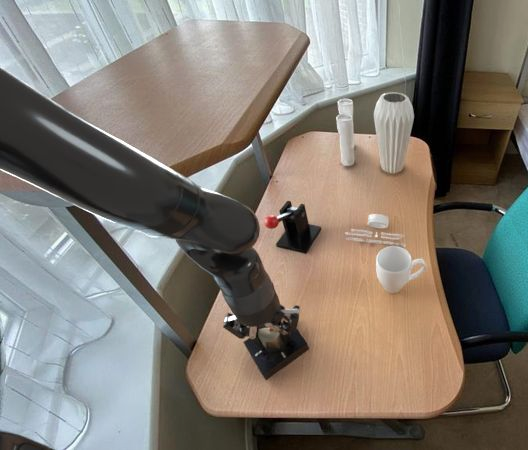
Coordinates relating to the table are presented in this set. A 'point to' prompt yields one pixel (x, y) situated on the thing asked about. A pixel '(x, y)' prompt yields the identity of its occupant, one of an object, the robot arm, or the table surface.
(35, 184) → the robot arm
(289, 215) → the red knob lever
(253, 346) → the dial panel
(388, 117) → the vase
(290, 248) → the lever bracket
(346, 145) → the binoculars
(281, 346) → the dial
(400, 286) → the mug
